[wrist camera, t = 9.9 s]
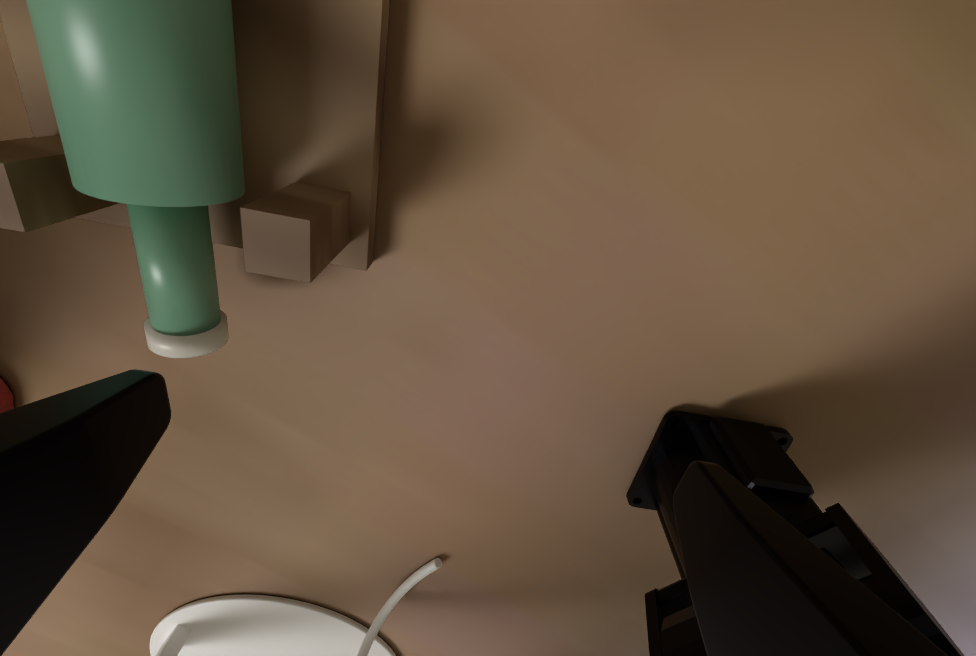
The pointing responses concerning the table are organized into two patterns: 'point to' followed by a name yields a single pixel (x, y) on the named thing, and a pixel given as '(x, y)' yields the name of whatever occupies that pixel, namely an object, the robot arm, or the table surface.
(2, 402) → the stacking bear
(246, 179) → the cradle
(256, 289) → the table surface
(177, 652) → the desk lamp
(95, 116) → the bottle
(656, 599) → the robot arm
